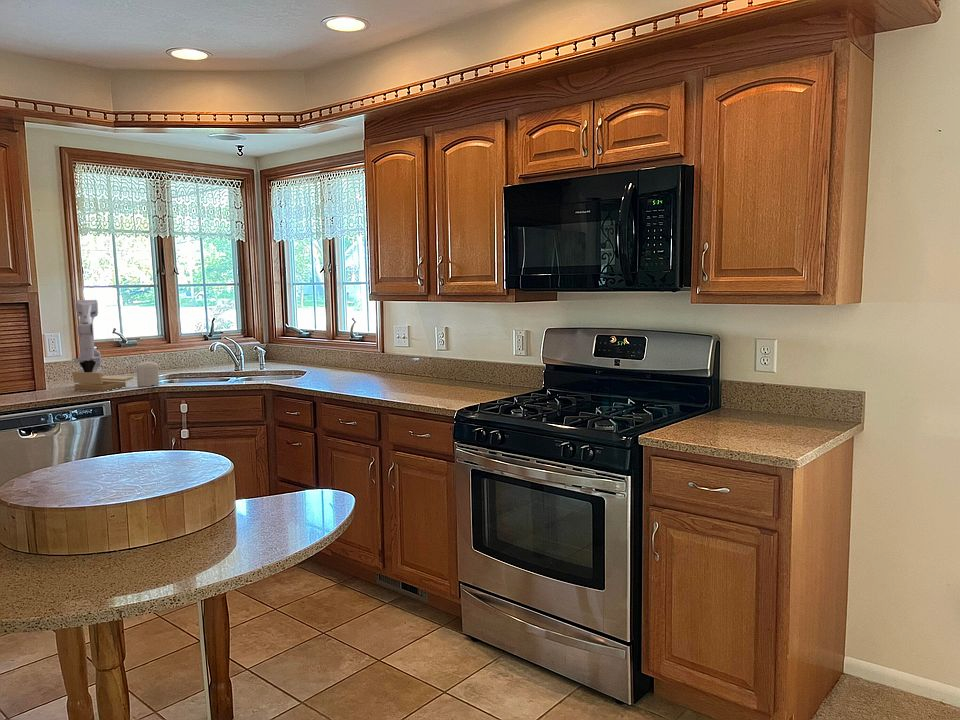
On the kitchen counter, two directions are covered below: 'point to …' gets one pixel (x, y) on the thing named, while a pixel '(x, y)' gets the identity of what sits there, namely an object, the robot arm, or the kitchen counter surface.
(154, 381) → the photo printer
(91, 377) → the front flap
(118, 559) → the kitchen counter surface
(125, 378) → the back flap
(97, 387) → the carton
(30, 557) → the kitchen counter surface
